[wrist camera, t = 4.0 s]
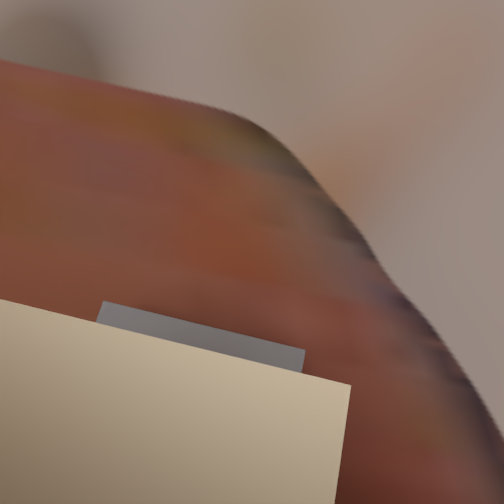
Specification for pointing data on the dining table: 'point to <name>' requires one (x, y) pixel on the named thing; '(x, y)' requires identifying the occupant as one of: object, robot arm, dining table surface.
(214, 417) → the wooden block
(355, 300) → the dining table surface
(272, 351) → the toolbox
